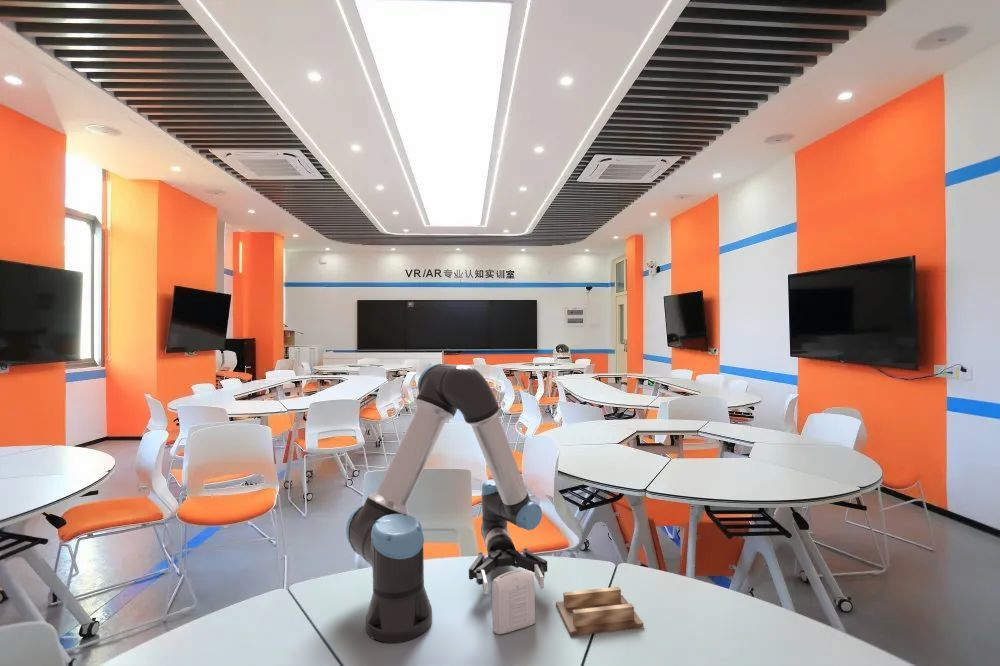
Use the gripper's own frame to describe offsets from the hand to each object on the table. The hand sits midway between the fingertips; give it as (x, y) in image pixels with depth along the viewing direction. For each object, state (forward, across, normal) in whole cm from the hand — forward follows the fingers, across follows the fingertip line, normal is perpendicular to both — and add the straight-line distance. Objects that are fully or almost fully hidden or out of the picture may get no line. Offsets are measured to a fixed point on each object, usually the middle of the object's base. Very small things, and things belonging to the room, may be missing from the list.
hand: (514, 585), depth 116 cm
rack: (+5, -19, -7) cm, 21 cm away
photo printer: (+4, +1, -7) cm, 8 cm away
